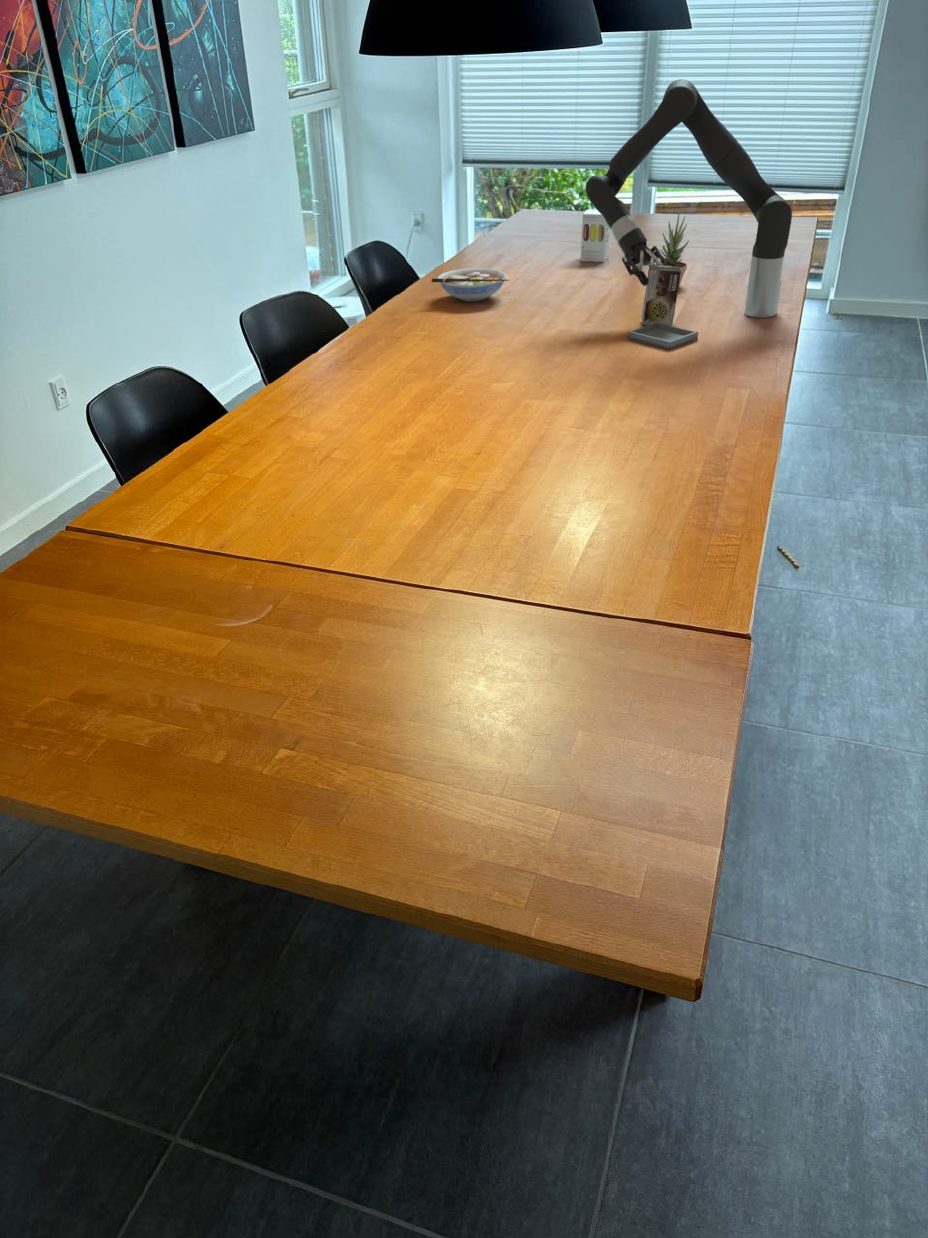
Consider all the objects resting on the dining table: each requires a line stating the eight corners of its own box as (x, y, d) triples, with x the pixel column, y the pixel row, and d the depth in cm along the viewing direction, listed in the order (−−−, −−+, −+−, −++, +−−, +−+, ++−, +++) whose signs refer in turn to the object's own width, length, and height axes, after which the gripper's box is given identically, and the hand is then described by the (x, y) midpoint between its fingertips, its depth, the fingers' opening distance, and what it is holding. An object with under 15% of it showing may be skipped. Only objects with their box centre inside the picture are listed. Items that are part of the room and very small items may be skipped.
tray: (656, 329, 279) (656, 321, 278) (697, 339, 270) (698, 331, 269) (627, 339, 272) (628, 331, 271) (669, 350, 263) (669, 342, 262)
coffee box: (670, 320, 286) (680, 265, 277) (672, 326, 281) (682, 271, 272) (640, 318, 287) (649, 263, 278) (641, 324, 281) (650, 268, 272)
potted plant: (687, 289, 316) (695, 210, 302) (659, 290, 316) (665, 211, 302) (682, 281, 324) (689, 204, 310) (654, 282, 324) (660, 205, 311)
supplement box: (579, 261, 354) (581, 213, 344) (584, 255, 361) (586, 208, 352) (605, 262, 351) (607, 214, 342) (609, 256, 359) (611, 209, 349)
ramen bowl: (511, 289, 322) (511, 265, 318) (507, 308, 303) (507, 282, 299) (439, 290, 325) (438, 265, 320) (431, 308, 306) (430, 282, 301)
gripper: (620, 230, 272) (648, 278, 271) (651, 223, 280) (679, 269, 279) (605, 247, 278) (632, 293, 277) (636, 239, 286) (663, 284, 285)
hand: (655, 281), depth 278 cm, fingers open, 8 cm apart
